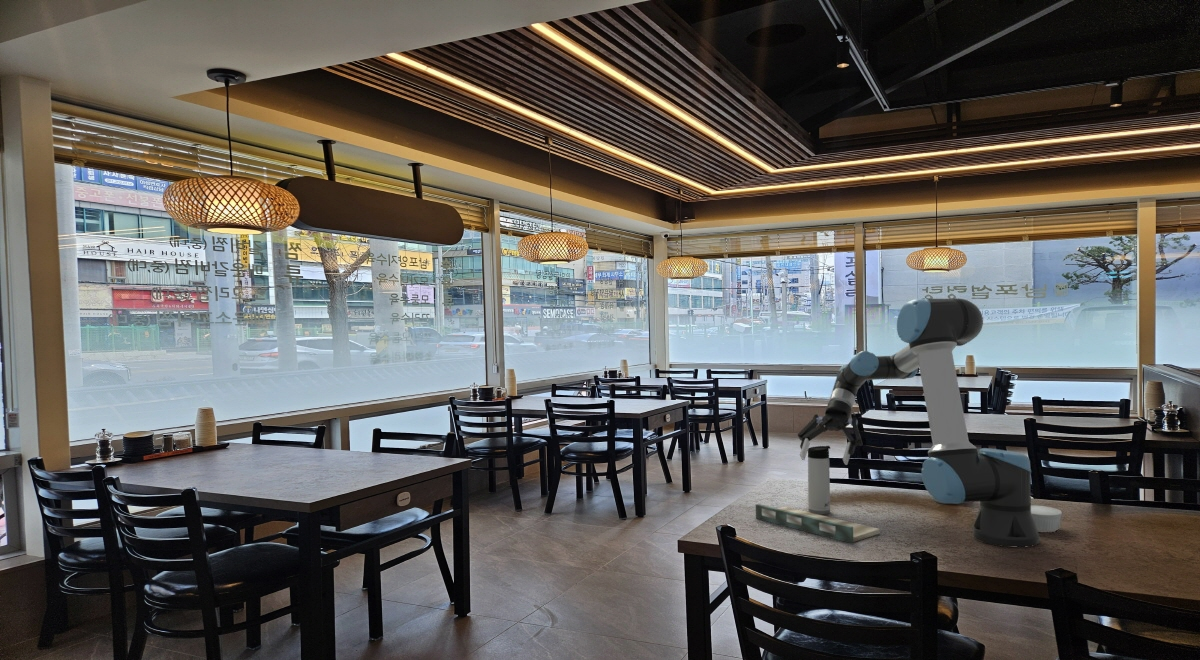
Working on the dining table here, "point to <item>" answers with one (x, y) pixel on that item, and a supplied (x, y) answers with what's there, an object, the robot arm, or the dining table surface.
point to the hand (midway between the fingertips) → (823, 459)
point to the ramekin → (1046, 518)
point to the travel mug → (818, 480)
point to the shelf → (815, 523)
